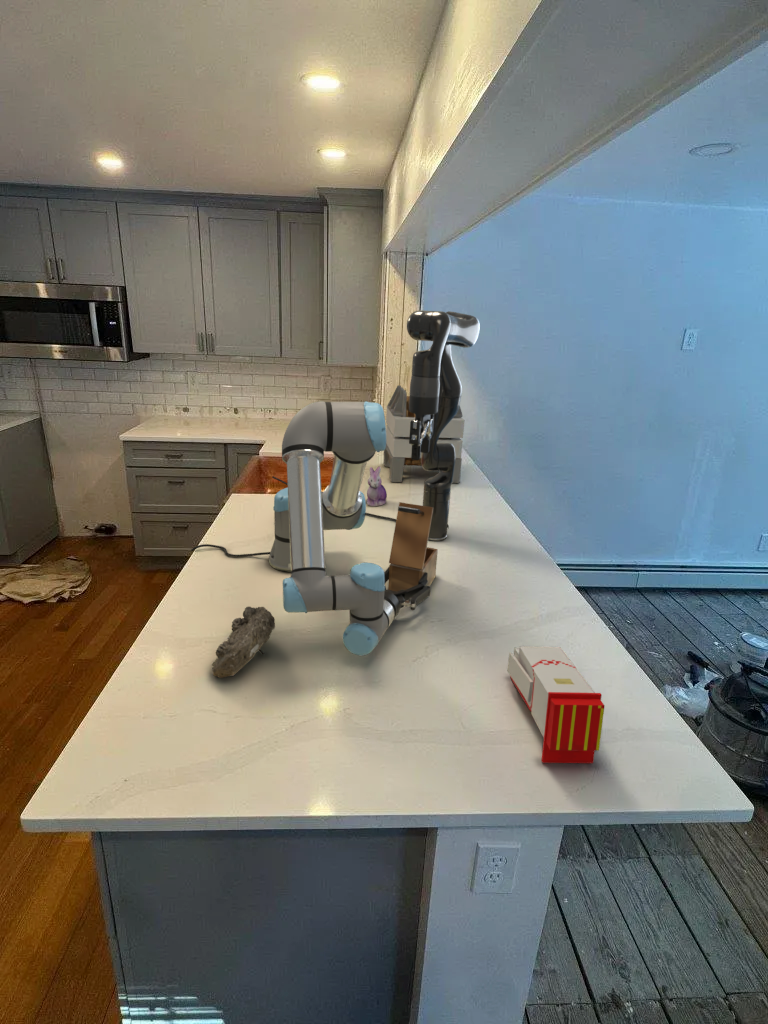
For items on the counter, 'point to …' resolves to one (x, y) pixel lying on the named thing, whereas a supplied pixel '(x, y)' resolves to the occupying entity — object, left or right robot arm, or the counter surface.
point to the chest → (412, 572)
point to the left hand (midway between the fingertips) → (408, 573)
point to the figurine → (375, 489)
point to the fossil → (243, 641)
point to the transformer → (399, 435)
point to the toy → (558, 703)
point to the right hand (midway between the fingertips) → (420, 456)
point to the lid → (411, 535)
